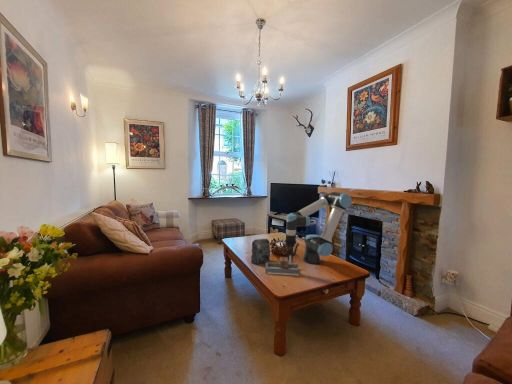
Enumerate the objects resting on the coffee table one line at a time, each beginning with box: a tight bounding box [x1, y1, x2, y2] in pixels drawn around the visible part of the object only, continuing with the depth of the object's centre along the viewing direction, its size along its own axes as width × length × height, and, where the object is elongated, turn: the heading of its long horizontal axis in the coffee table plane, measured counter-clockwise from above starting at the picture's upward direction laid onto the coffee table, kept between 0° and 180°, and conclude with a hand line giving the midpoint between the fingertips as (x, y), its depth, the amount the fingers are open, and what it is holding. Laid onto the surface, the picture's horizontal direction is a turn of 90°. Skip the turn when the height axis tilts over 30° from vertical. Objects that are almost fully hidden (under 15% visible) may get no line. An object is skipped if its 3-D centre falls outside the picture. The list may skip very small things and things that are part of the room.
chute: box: [265, 261, 300, 276], centre depth 176 cm, size 26×12×4 cm, turn 85°
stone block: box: [250, 238, 271, 265], centre depth 193 cm, size 18×9×20 cm, turn 124°
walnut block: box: [279, 256, 289, 269], centre depth 176 cm, size 6×8×8 cm
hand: (289, 263), depth 175 cm, fingers closed
